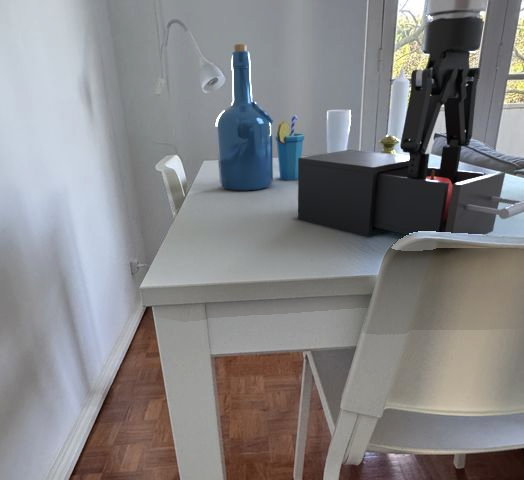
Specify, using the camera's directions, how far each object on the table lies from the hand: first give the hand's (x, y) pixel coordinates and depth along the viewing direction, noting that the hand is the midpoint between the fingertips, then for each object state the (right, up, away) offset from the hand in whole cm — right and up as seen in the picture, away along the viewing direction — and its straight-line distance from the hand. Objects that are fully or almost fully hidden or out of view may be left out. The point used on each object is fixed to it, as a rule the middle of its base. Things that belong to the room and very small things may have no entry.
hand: (430, 194), depth 74 cm
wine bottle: (-30, +16, +44) cm, 56 cm away
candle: (+12, +30, +65) cm, 72 cm away
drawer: (+2, -6, 0) cm, 7 cm away
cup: (-19, +22, +53) cm, 60 cm away
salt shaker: (+6, +20, +49) cm, 53 cm away
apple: (0, -4, +2) cm, 5 cm away
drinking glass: (-4, +31, +68) cm, 74 cm away
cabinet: (-9, 0, +13) cm, 16 cm away
